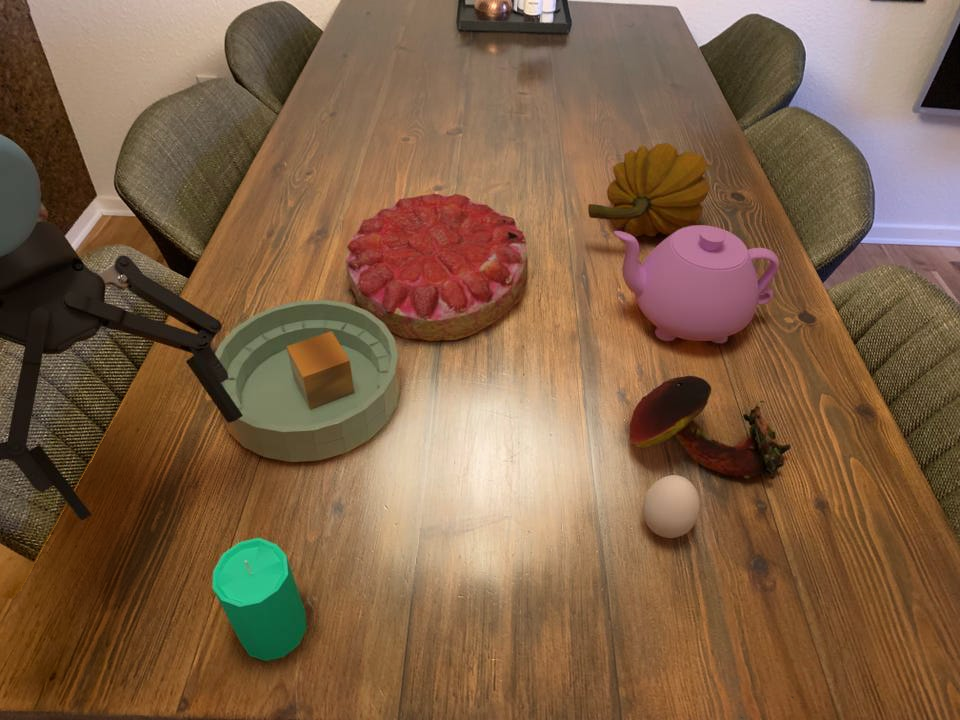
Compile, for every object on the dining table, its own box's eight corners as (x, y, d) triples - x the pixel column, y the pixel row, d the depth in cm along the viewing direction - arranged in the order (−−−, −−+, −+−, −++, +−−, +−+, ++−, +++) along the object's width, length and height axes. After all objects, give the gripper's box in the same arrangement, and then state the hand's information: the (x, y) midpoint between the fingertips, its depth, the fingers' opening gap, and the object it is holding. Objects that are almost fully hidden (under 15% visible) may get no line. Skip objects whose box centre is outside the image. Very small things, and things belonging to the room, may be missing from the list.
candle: (275, 674, 61) (246, 612, 53) (224, 637, 63) (189, 572, 55) (321, 617, 65) (300, 550, 56) (272, 584, 67) (245, 515, 59)
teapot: (602, 354, 90) (621, 268, 80) (593, 277, 101) (608, 193, 91) (776, 361, 90) (815, 276, 80) (747, 284, 101) (779, 200, 91)
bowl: (253, 495, 74) (241, 461, 70) (202, 369, 86) (189, 333, 82) (430, 422, 81) (429, 387, 77) (359, 316, 94) (354, 280, 90)
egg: (650, 495, 75) (665, 451, 70) (697, 521, 73) (717, 478, 68) (627, 531, 72) (641, 488, 67) (676, 559, 70) (695, 517, 65)
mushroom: (711, 482, 86) (634, 387, 86) (803, 440, 79) (718, 335, 78) (686, 544, 77) (599, 436, 77) (788, 502, 69) (691, 382, 69)
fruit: (703, 221, 115) (700, 260, 98) (604, 214, 119) (584, 250, 102) (715, 133, 109) (714, 157, 92) (610, 129, 113) (590, 152, 96)
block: (309, 410, 81) (302, 377, 77) (293, 379, 85) (286, 346, 81) (354, 393, 83) (349, 360, 79) (337, 363, 87) (331, 330, 83)
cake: (491, 209, 110) (491, 165, 104) (557, 317, 95) (561, 273, 89) (334, 247, 105) (324, 202, 99) (376, 368, 89) (367, 324, 83)
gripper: (146, 194, 65) (275, 389, 69) (-172, 329, 51) (11, 561, 55) (160, 163, 58) (301, 379, 62) (-197, 307, 45) (10, 571, 49)
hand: (165, 465), depth 59 cm, fingers open, 13 cm apart
